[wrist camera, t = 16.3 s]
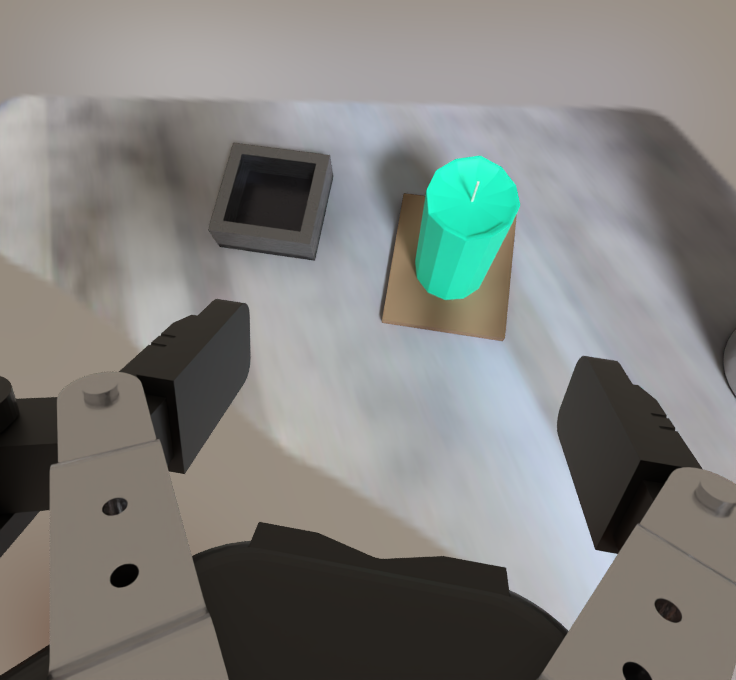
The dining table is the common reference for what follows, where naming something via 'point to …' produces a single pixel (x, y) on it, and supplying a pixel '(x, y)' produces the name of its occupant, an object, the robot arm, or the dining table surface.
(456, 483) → the dining table surface
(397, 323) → the walnut board
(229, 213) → the box
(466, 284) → the candle
